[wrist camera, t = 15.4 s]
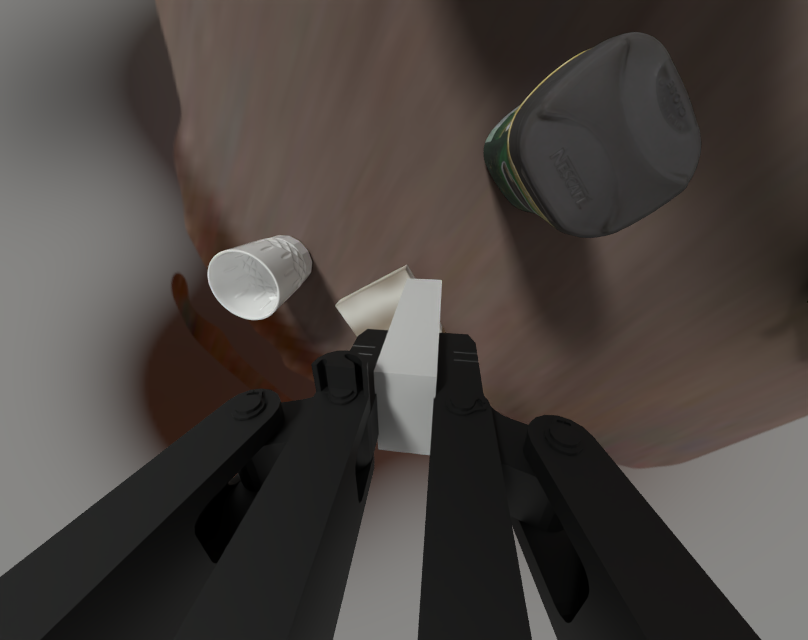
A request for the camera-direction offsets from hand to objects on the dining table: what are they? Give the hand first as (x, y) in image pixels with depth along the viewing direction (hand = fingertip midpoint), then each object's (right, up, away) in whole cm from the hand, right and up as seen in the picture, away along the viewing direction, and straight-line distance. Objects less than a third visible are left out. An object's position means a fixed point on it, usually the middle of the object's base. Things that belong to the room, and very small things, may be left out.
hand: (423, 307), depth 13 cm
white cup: (-16, +8, +27) cm, 32 cm away
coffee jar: (+12, +17, +18) cm, 27 cm away
